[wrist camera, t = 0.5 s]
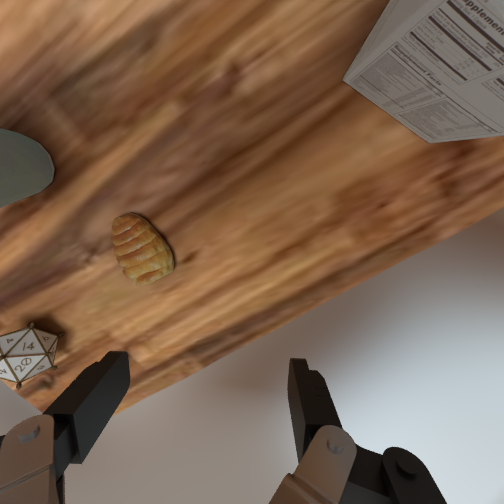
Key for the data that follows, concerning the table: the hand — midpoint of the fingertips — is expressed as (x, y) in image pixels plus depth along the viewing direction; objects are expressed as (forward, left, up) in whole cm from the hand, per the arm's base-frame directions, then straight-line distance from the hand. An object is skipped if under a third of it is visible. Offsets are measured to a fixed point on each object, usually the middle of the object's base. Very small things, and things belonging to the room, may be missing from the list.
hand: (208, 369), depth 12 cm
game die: (+27, -22, -23) cm, 41 cm away
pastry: (+7, -11, -23) cm, 26 cm away
